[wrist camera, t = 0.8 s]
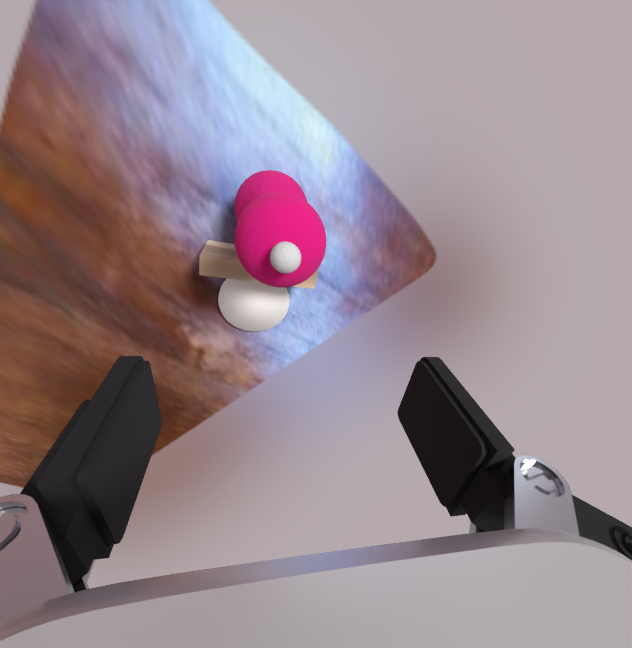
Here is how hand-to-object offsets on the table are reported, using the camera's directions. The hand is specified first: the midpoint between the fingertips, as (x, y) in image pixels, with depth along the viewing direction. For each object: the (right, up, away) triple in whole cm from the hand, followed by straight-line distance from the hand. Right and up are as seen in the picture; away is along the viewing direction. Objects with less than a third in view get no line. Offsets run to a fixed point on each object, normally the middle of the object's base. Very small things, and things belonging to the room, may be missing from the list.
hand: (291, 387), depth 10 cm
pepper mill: (-4, +16, +22) cm, 28 cm away
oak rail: (-6, +11, +25) cm, 28 cm away
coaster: (-7, +5, +28) cm, 29 cm away
